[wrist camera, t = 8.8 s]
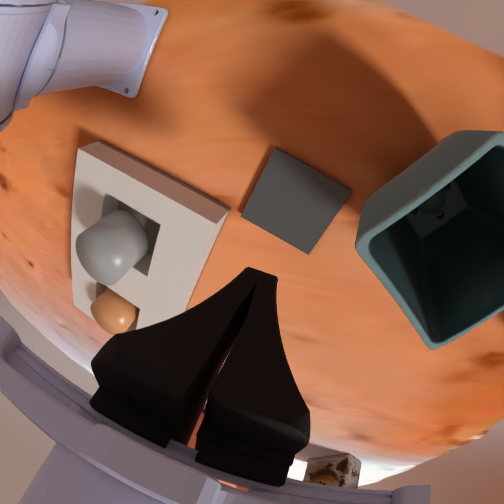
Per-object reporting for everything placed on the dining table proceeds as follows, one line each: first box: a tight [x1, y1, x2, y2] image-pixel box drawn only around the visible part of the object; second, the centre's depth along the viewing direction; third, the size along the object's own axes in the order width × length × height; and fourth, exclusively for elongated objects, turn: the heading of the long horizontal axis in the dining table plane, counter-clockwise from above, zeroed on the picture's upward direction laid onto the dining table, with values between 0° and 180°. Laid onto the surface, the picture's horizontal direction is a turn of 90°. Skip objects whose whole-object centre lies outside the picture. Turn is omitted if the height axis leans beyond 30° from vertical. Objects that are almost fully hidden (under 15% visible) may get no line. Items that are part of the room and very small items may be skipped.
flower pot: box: [355, 130, 504, 350], centre depth 14 cm, size 9×9×9 cm
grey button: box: [75, 210, 148, 286], centre depth 21 cm, size 5×5×4 cm
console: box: [71, 140, 231, 332], centre depth 27 cm, size 14×22×3 cm, turn 155°
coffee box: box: [303, 454, 361, 489], centre depth 37 cm, size 9×6×16 cm
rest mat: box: [241, 147, 351, 255], centre depth 21 cm, size 6×6×1 cm
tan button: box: [90, 288, 140, 335], centre depth 30 cm, size 5×5×4 cm
